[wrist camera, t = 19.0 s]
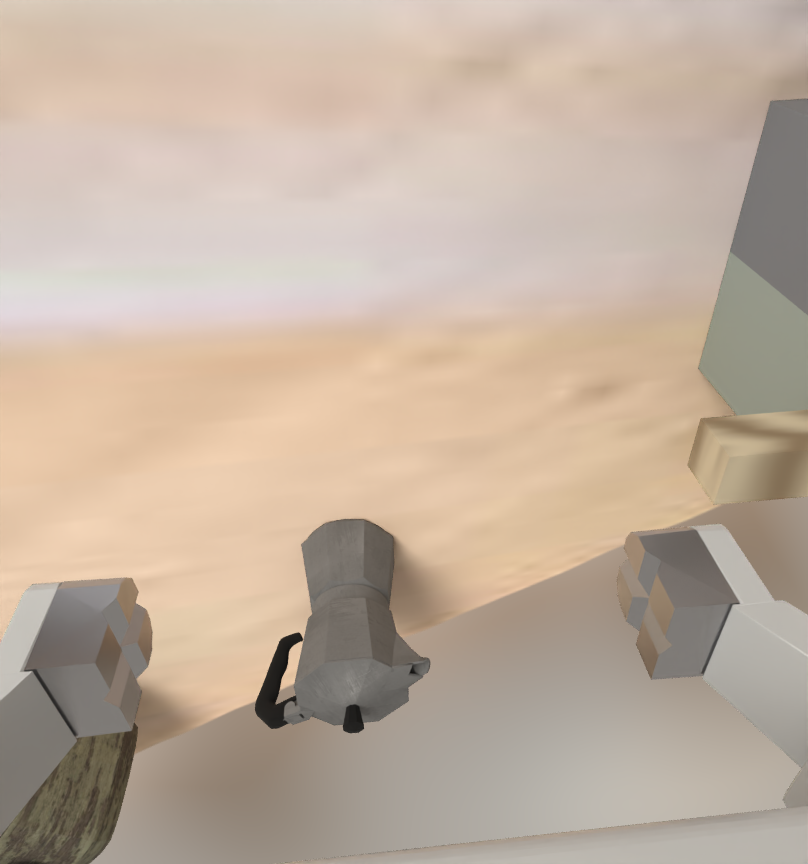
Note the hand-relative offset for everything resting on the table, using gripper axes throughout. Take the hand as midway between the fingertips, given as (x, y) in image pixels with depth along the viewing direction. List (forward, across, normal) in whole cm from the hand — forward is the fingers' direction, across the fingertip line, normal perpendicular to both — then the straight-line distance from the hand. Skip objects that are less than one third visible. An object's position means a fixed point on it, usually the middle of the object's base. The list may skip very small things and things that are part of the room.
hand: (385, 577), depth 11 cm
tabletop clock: (+37, -34, -58) cm, 77 cm away
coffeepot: (+37, -4, -40) cm, 55 cm away
